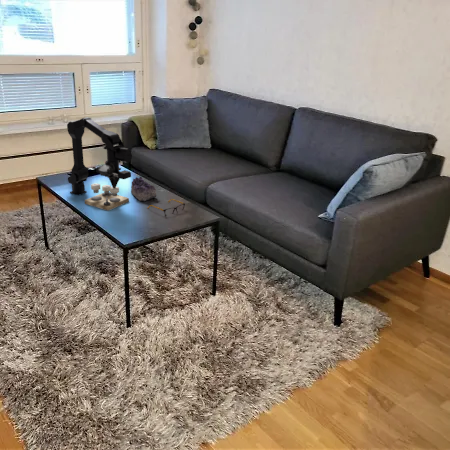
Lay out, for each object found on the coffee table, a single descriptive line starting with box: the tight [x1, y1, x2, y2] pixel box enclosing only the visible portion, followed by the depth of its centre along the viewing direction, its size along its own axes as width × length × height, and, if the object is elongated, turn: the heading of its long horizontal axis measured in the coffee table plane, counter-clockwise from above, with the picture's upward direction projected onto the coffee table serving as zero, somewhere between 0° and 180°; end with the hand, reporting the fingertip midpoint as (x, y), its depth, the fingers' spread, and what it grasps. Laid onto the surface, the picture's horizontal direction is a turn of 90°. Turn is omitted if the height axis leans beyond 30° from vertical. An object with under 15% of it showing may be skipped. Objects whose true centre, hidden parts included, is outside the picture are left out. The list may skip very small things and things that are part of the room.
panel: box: [84, 191, 130, 211], centre depth 241 cm, size 16×16×2 cm
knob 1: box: [90, 183, 101, 194], centre depth 238 cm, size 5×5×4 cm
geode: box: [130, 176, 157, 202], centre depth 253 cm, size 20×12×10 cm, turn 35°
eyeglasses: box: [147, 198, 186, 216], centre depth 238 cm, size 14×14×4 cm
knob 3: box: [109, 186, 120, 196], centre depth 238 cm, size 5×5×4 cm
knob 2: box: [101, 184, 112, 194], centre depth 246 cm, size 5×5×4 cm
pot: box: [104, 197, 111, 206], centre depth 233 cm, size 2×2×4 cm
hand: (114, 187), depth 237 cm, fingers closed, pressing on knob 3
